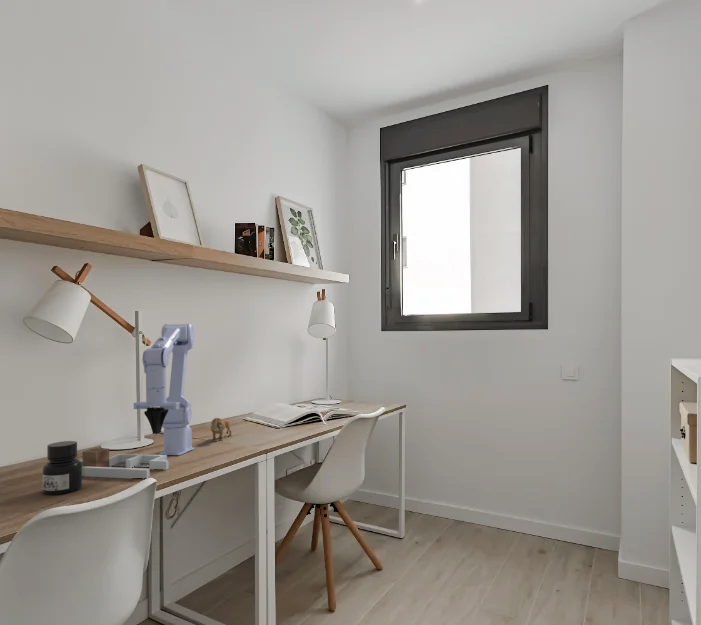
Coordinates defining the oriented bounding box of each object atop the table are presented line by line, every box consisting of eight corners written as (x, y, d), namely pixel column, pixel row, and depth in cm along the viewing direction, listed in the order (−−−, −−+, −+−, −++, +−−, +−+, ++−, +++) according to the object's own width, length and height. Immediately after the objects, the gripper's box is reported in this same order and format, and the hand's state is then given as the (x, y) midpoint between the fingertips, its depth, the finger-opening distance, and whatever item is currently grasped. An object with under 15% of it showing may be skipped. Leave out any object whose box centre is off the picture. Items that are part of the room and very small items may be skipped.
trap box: (102, 460, 159) (102, 453, 160) (179, 463, 153) (179, 455, 153) (62, 475, 144) (62, 466, 144) (146, 479, 137) (146, 470, 137)
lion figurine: (222, 443, 181) (222, 418, 181) (208, 443, 181) (208, 418, 182) (233, 434, 196) (233, 411, 196) (220, 435, 196) (219, 412, 196)
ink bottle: (33, 493, 127) (33, 446, 128) (64, 483, 135) (63, 439, 136) (60, 497, 124) (60, 448, 124) (90, 486, 132) (90, 441, 132)
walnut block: (95, 467, 151) (95, 447, 152) (109, 468, 150) (108, 448, 150) (82, 472, 147) (82, 451, 147) (96, 473, 145) (96, 452, 145)
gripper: (126, 389, 147) (126, 435, 147) (169, 389, 144) (170, 436, 144) (141, 386, 154) (142, 430, 154) (183, 386, 151) (183, 431, 150)
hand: (156, 433), depth 149 cm, fingers closed
